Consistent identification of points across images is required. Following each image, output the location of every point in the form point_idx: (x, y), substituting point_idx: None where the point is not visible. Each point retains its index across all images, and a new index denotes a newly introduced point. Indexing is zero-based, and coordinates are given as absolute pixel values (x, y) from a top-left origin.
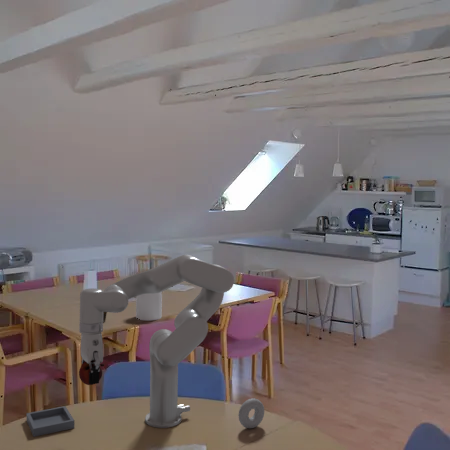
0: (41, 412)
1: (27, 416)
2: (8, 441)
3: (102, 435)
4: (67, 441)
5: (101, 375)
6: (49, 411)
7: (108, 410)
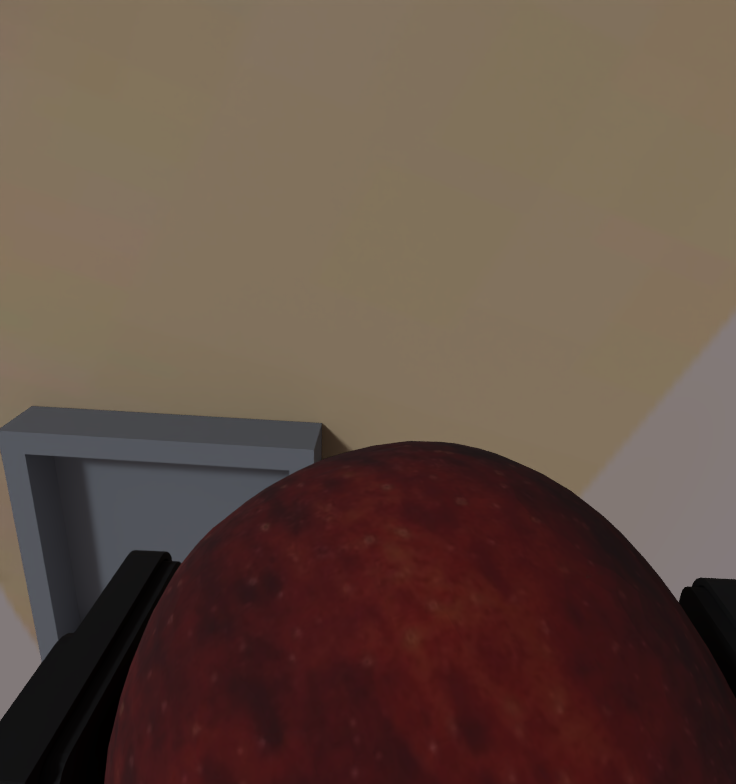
0: (52, 592)
1: None
2: None
3: (560, 283)
4: None
5: (609, 523)
6: (47, 541)
7: (103, 51)
